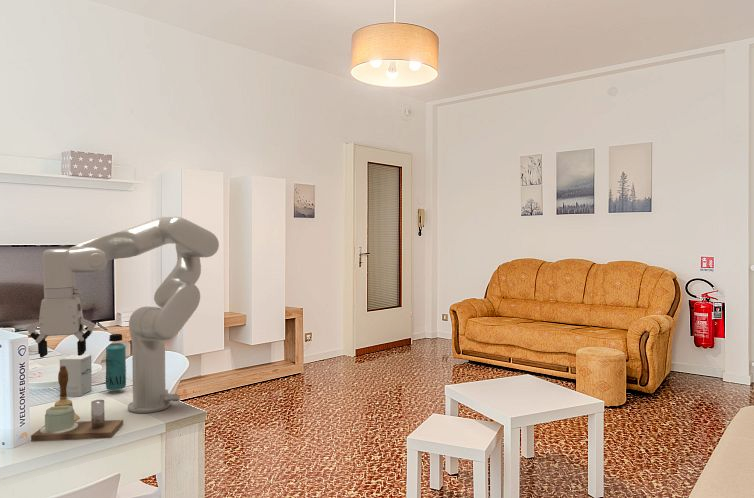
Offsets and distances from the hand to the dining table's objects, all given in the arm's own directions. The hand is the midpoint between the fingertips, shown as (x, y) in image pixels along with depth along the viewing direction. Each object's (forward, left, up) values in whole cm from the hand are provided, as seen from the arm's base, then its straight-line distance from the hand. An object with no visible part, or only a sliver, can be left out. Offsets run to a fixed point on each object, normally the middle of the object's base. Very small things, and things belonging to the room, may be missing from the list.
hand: (62, 355), depth 154 cm
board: (-5, +2, -21) cm, 22 cm away
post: (-10, +2, -20) cm, 22 cm away
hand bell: (+4, -9, -21) cm, 24 cm away
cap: (0, +2, -19) cm, 19 cm away
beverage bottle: (-2, -38, -21) cm, 43 cm away
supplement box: (+11, -38, -21) cm, 45 cm away
